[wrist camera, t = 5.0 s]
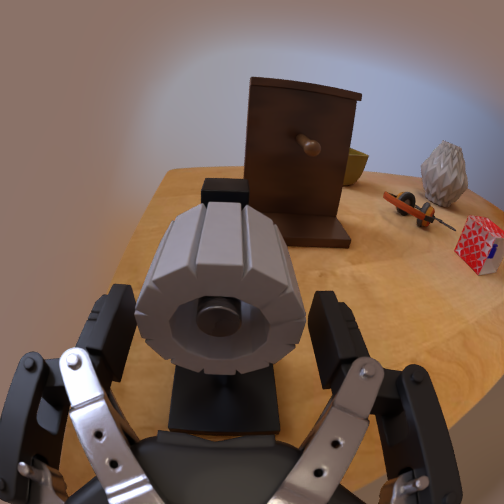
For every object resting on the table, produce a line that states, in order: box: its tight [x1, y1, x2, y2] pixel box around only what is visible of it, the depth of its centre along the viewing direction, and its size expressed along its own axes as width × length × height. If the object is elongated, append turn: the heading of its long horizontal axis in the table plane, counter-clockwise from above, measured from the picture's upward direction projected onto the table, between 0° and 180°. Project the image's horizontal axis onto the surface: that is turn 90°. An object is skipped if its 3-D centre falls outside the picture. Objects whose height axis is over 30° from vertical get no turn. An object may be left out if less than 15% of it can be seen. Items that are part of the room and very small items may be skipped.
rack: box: [243, 77, 362, 248], centre depth 37 cm, size 16×10×23 cm, turn 93°
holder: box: [168, 178, 280, 436], centre depth 15 cm, size 8×8×16 cm
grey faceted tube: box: [134, 202, 306, 375], centre depth 12 cm, size 7×5×7 cm
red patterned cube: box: [454, 215, 504, 275], centre depth 37 cm, size 8×8×8 cm
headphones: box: [383, 191, 456, 231], centre depth 51 cm, size 17×5×20 cm
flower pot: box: [343, 148, 369, 185], centre depth 64 cm, size 9×9×9 cm
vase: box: [421, 140, 468, 207], centre depth 61 cm, size 16×16×18 cm
